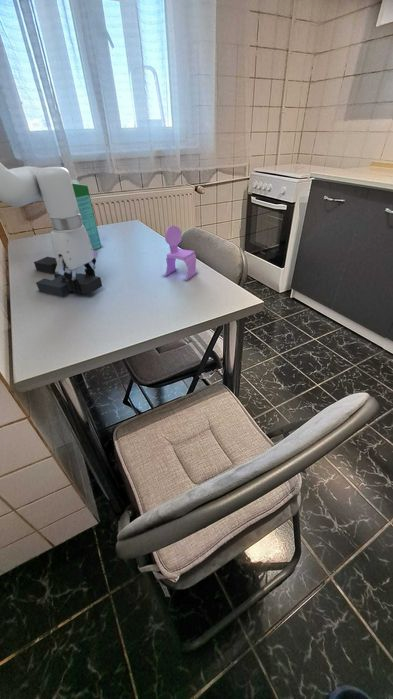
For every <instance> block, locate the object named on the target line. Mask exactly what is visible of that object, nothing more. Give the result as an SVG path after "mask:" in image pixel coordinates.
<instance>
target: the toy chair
mask: <svg viewBox="0 0 393 699" xmlns="http://www.w3.org/2000/svg"><path fill="white" fill-rule="evenodd" d="M164 240H165V243H166V244H168V245H169V251H170V252H168V253H167V254H166V258H165V261H166V270H165V274H164V277H167V276H168V275H170V274H171V273H173V272H175V271H176V270H177V267H176V260H180V261H183V262H184V263H185V265H186V267H187V274H186V277H185V281H188V280H189V279H191V278H192V277H193V276H195V275H196V274H197V268H196V267H197V255H196V252H195V250H189V249H183V248H179V247H178V246H179V244H180V243H181V241H182V230H181V228H180V227H179V226H176V225H170V226H168V227H167V228H166V230H165V234H164Z"/></svg>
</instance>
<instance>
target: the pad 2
mask: <svg viewBox="0 0 393 699" xmlns="http://www.w3.org/2000/svg"><path fill="white" fill-rule="evenodd" d="M61 278H62V281H63V283H66V285H67V289H68V290H70V291H71V292H73V291H72V290H71V287H70V284H69V281H68V279H66V278H64V277H61ZM76 279H78V281H79V285H80V289H81V292H80V293H79V294H84V295H90V294H92V293H94V292H95V291H97V290H98V289H99V290H100V288H102V287H103V283H102V280H101V279H102V278H101V276H98V275H95V276H92V275H87V274H86V273H81V272H78V273H77V275H76Z"/></svg>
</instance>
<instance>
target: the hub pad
mask: <svg viewBox="0 0 393 699" xmlns="http://www.w3.org/2000/svg"><path fill="white" fill-rule="evenodd" d="M70 274H71V271H70ZM77 274H78V273H77V272H76V275H77ZM53 277H54V279H48V278H42V279H40V280H38V281H36V282H35V284H36V286H37V289H38V291H39V292H40V293H44V294H48V295H53V296H57V297H62V298H65V297H66V296H68V295H69V294H71V293H72V291H70V290H68V289H67V285H66V283H63V281H62V278H61V277H63V276H61V275H59V274H57V273H56V272H55V273H53Z"/></svg>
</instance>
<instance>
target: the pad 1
mask: <svg viewBox="0 0 393 699" xmlns="http://www.w3.org/2000/svg"><path fill="white" fill-rule="evenodd" d="M33 264H34V267H35V269H36V271H38V272H42V273H48V274H55V273H56V272H55V269H56V266H57V262H56V258H55V257H52V256H51V257H50V256H45V257H43V258H41V259H38V260H35V261H34V262H33ZM63 270H64V271H65V268H63Z"/></svg>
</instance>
